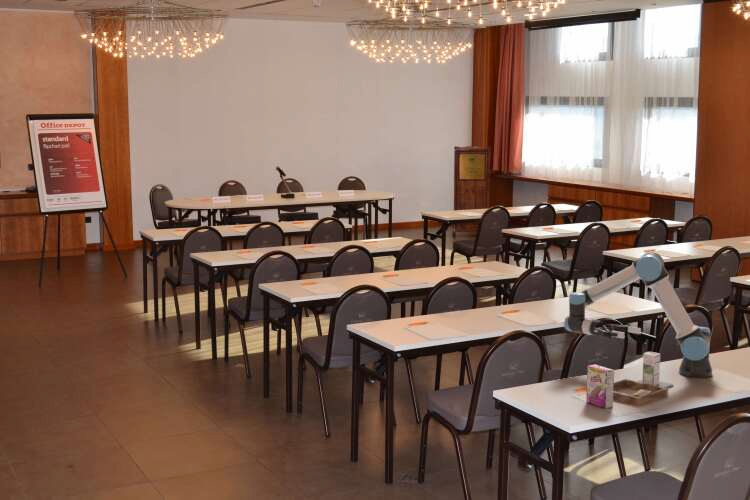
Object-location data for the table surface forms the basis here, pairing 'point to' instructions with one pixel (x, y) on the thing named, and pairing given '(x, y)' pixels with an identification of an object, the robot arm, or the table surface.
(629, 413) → the table surface
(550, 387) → the table surface
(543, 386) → the table surface
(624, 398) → the walnut frame
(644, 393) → the top offcut
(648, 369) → the syrup box
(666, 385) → the grey mat
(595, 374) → the candy bar box
